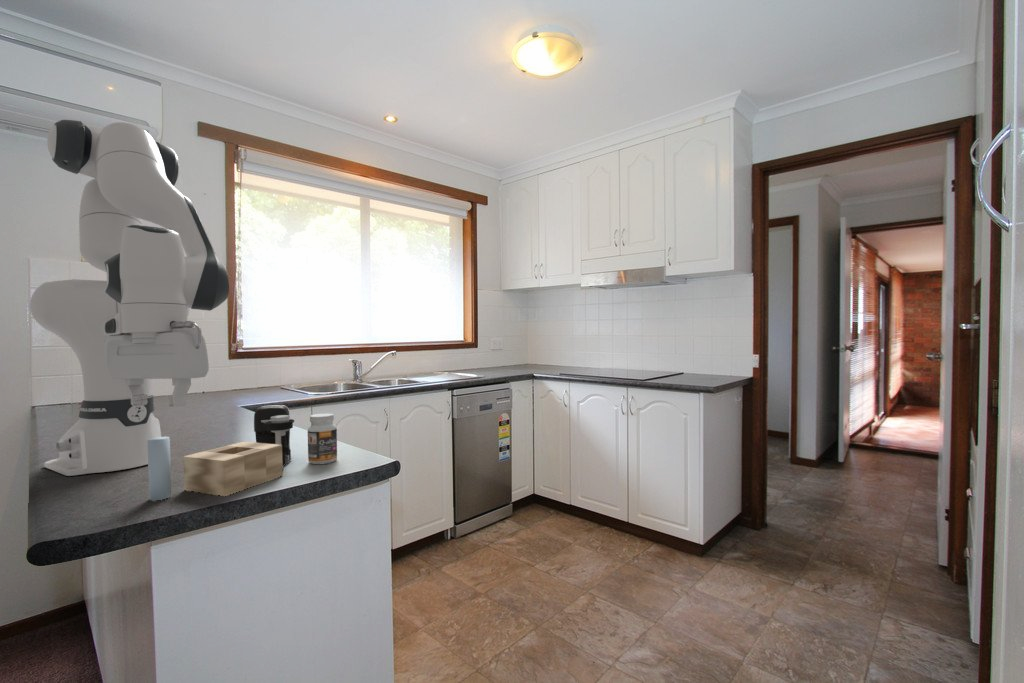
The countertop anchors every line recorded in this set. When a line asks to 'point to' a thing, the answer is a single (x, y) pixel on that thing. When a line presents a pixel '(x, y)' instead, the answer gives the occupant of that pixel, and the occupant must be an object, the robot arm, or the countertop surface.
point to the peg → (159, 468)
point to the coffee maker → (264, 416)
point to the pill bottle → (322, 439)
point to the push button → (281, 433)
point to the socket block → (232, 468)
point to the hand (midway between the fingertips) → (158, 406)
